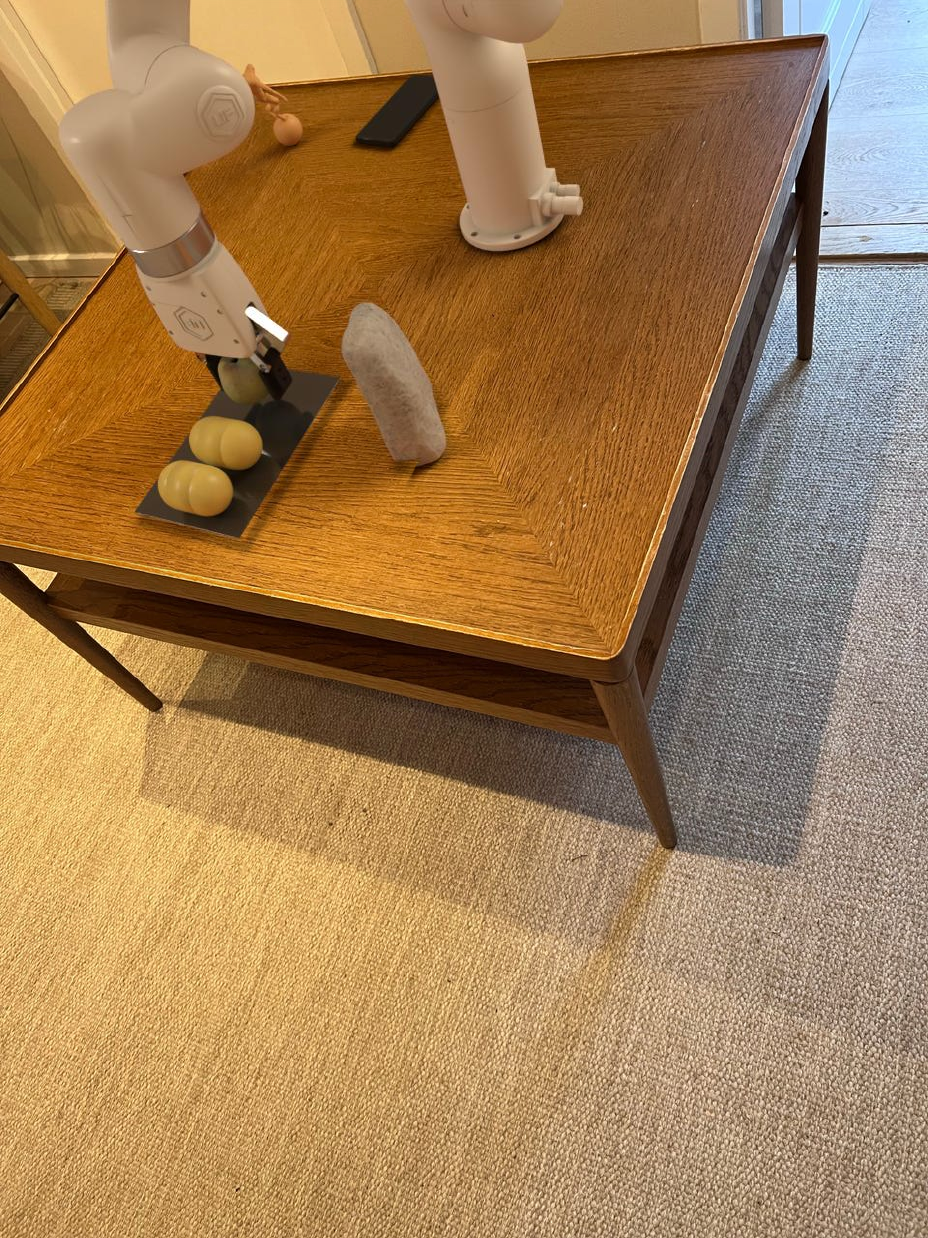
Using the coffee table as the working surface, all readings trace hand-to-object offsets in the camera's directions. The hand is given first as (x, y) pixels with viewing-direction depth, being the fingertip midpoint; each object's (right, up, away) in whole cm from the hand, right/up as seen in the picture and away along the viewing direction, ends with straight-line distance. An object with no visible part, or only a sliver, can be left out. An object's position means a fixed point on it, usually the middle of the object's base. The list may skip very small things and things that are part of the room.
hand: (257, 385), depth 96 cm
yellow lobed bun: (-2, -8, -2) cm, 9 cm away
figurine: (-3, +42, +32) cm, 52 cm away
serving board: (-1, -7, +1) cm, 7 cm away
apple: (+1, 0, +1) cm, 1 cm away
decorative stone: (+17, -6, -4) cm, 19 cm away
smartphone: (+14, +45, +29) cm, 55 cm away
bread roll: (-4, -13, -4) cm, 14 cm away
